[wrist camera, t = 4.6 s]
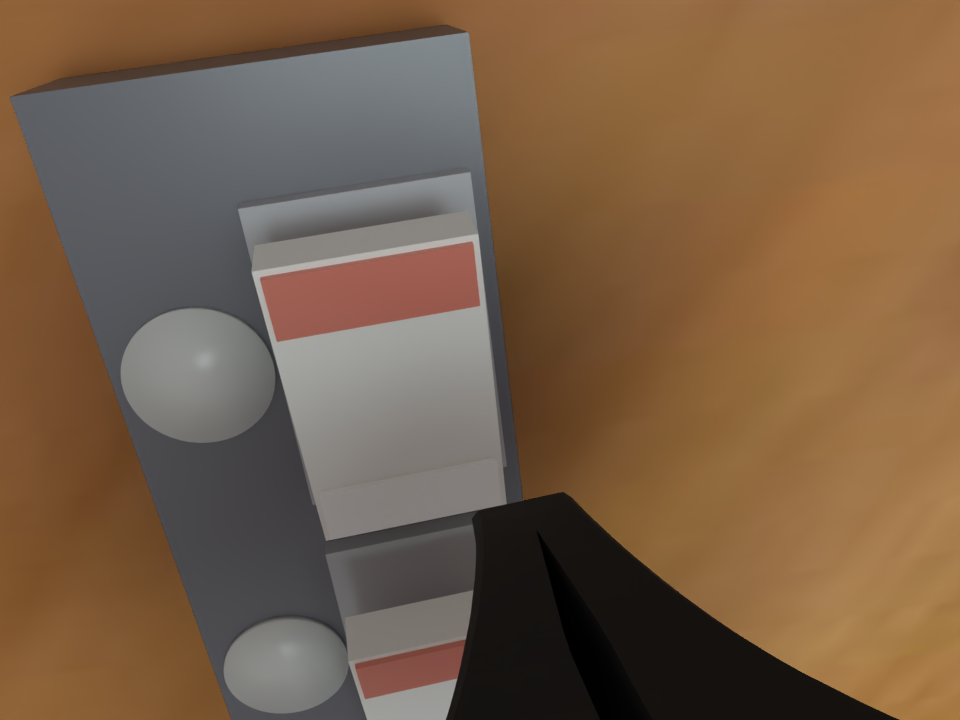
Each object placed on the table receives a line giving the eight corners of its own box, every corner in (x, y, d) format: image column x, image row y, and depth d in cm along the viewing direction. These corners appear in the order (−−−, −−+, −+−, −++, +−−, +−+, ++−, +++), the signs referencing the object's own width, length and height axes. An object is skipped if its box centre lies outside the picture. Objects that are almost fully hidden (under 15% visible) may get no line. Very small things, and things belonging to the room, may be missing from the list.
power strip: (534, 722, 23) (568, 838, 20) (289, 779, 23) (283, 909, 19) (446, 24, 15) (478, 35, 12) (60, 78, 15) (-14, 105, 11)
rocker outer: (496, 471, 15) (507, 508, 14) (324, 506, 15) (326, 545, 14) (467, 210, 12) (480, 237, 12) (254, 245, 12) (250, 275, 11)
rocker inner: (527, 721, 18) (538, 765, 18) (387, 754, 18) (392, 800, 17) (516, 580, 15) (529, 627, 14) (345, 617, 15) (349, 667, 14)
